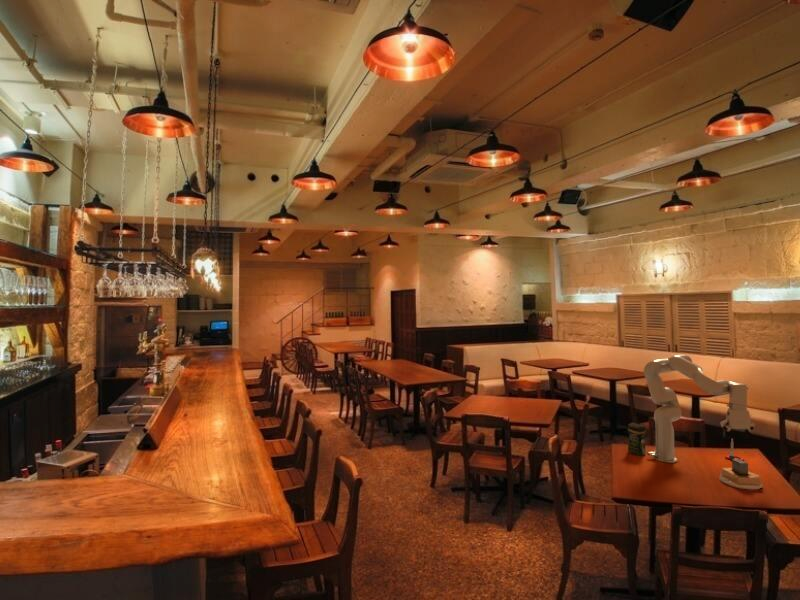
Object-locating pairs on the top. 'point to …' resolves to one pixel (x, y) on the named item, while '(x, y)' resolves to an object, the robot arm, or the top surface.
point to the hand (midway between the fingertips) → (737, 438)
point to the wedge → (739, 467)
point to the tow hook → (732, 453)
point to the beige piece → (740, 479)
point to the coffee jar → (636, 439)
